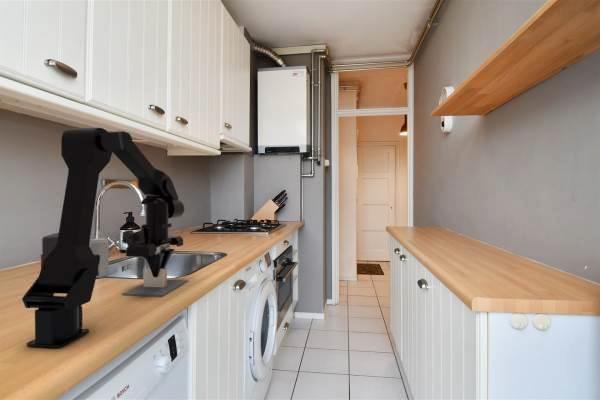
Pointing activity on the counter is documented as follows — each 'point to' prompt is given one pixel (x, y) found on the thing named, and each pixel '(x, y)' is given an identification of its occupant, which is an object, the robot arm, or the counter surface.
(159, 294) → the mat
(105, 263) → the beverage can
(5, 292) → the counter surface
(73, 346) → the counter surface
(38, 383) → the counter surface
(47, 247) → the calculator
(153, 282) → the tile
